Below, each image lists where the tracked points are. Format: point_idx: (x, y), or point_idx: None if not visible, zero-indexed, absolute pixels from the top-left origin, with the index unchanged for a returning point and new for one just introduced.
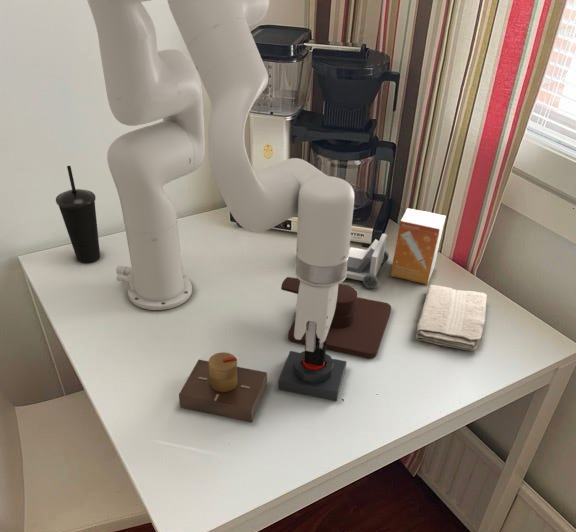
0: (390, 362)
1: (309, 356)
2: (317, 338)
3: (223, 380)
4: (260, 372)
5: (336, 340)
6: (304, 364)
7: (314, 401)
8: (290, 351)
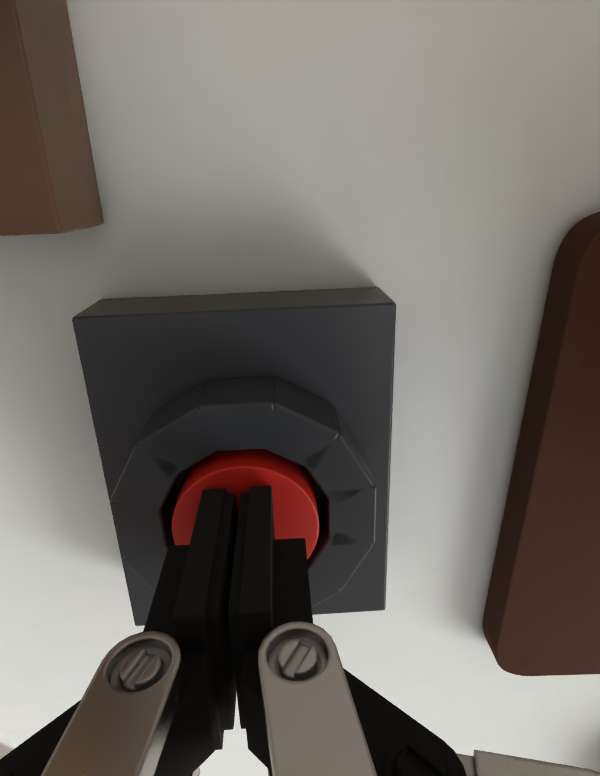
0: (476, 695)
1: (160, 581)
2: (247, 724)
3: None
4: (33, 179)
5: (576, 507)
6: (187, 487)
7: (106, 493)
8: (388, 307)
